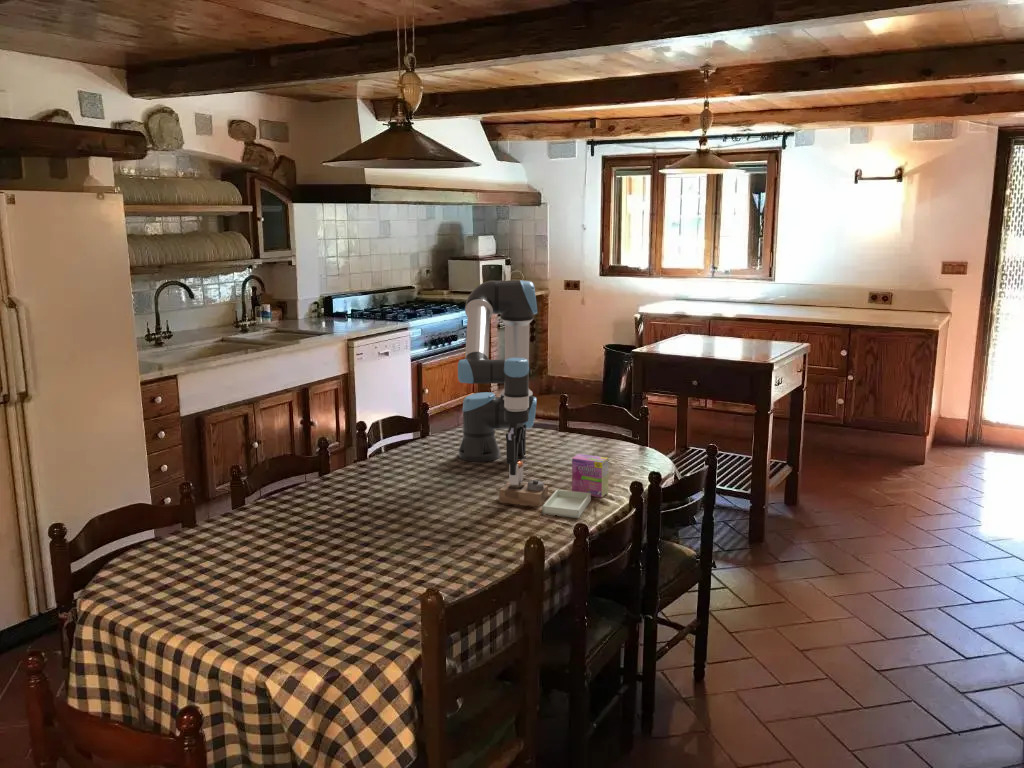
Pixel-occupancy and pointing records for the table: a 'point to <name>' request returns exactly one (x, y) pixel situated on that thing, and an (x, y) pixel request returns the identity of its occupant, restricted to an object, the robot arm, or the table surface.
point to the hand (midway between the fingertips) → (516, 481)
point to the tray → (566, 503)
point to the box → (590, 474)
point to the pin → (519, 486)
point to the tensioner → (524, 494)
